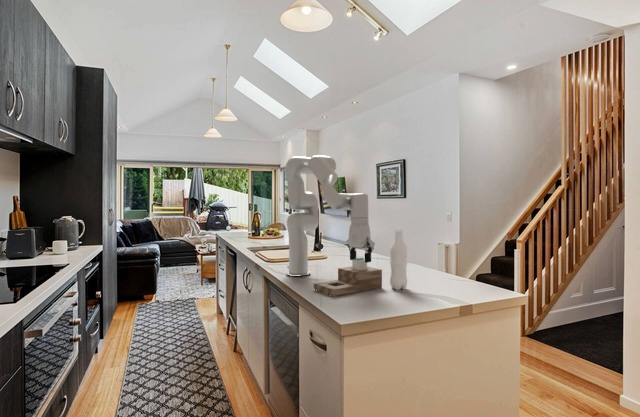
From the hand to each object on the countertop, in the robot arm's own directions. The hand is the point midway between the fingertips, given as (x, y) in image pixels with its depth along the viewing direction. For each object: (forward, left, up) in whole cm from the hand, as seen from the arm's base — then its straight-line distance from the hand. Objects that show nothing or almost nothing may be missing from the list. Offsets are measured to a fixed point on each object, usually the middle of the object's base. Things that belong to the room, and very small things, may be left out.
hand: (360, 260), depth 168 cm
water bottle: (+12, +11, -12) cm, 20 cm away
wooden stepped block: (0, -7, -12) cm, 13 cm away
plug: (0, 0, -7) cm, 7 cm away
